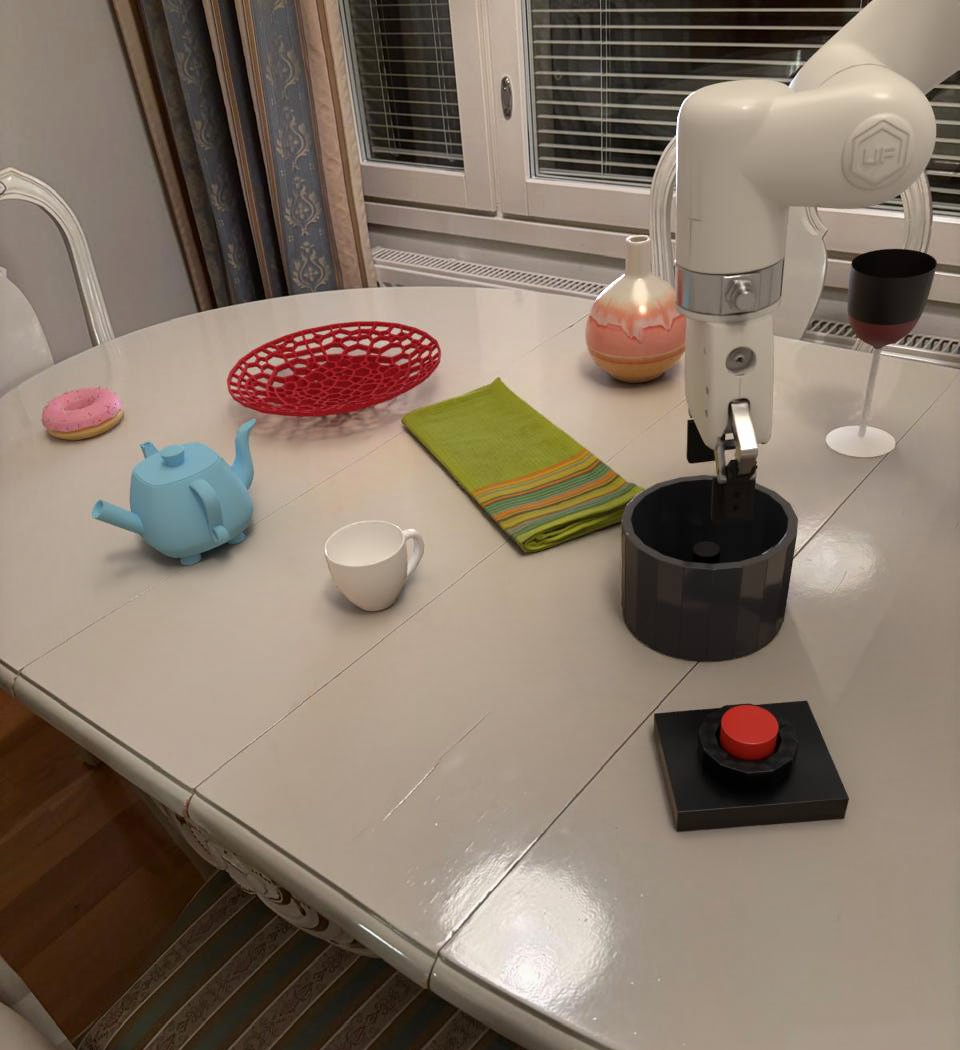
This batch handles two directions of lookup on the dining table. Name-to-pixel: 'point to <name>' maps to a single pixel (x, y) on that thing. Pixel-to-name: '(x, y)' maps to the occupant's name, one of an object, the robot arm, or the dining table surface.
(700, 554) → the blade
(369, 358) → the bowl
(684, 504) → the dark grey round bin
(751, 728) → the button
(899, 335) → the wineglass
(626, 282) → the vase
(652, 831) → the dining table surface
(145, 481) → the teapot
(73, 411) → the doughnut
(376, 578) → the cup
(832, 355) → the dining table surface
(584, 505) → the dish towel
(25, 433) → the dining table surface
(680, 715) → the base unit
